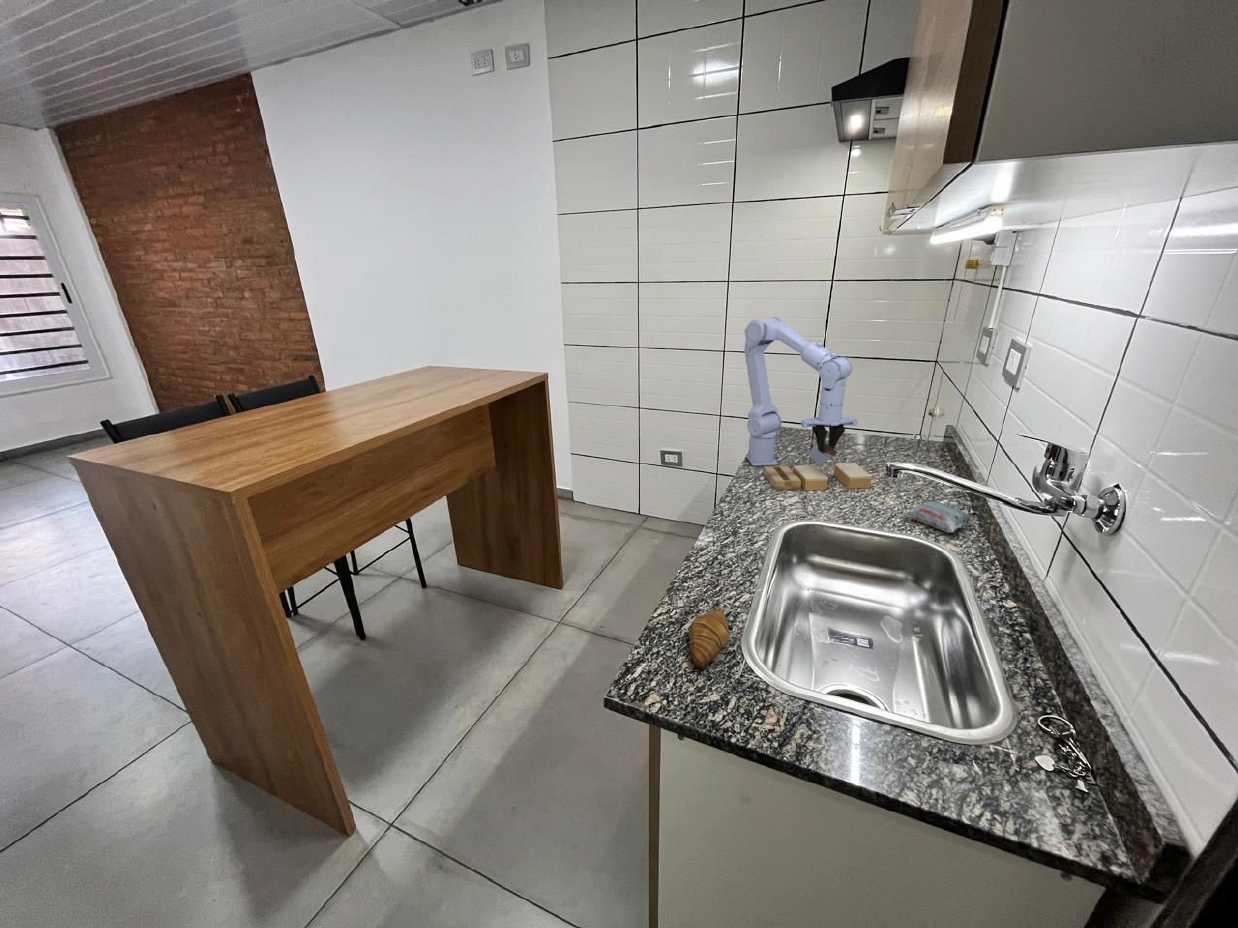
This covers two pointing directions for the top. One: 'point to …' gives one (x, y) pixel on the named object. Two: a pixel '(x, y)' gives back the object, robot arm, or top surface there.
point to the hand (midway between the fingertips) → (825, 450)
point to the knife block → (786, 473)
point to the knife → (822, 454)
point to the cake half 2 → (852, 475)
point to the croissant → (708, 637)
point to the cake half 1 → (810, 477)
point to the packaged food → (940, 516)
